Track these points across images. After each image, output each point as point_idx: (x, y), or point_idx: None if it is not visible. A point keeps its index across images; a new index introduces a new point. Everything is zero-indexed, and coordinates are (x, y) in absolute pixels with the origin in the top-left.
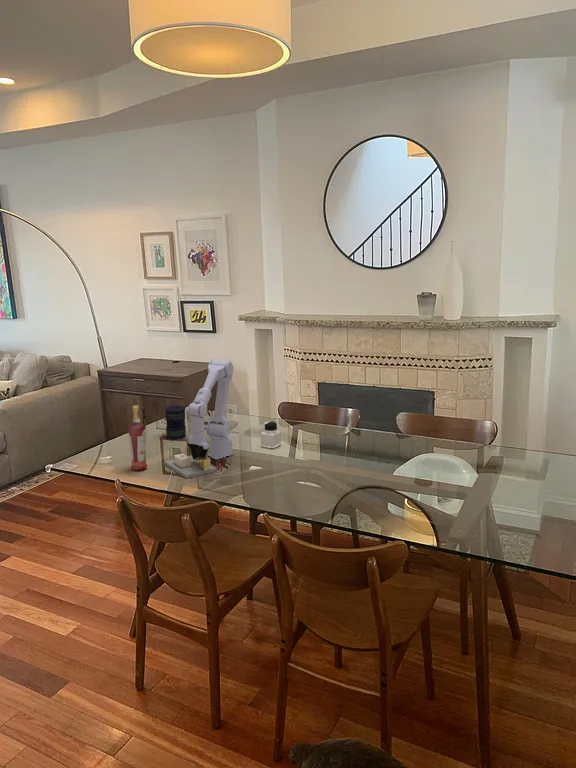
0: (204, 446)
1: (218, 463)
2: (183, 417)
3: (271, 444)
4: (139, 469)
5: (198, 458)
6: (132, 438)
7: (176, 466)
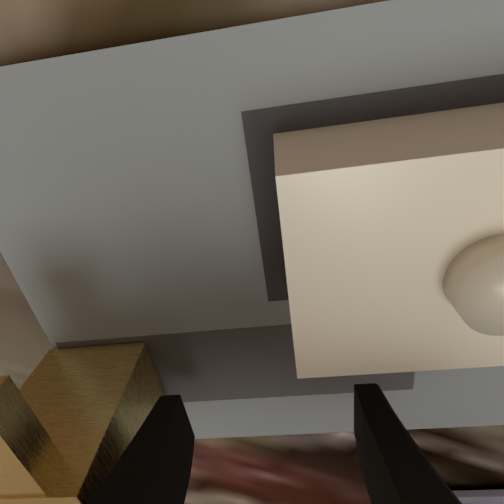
0: None
1: (290, 476)
2: None
3: None
4: None
5: (147, 455)
6: None
7: (397, 73)
